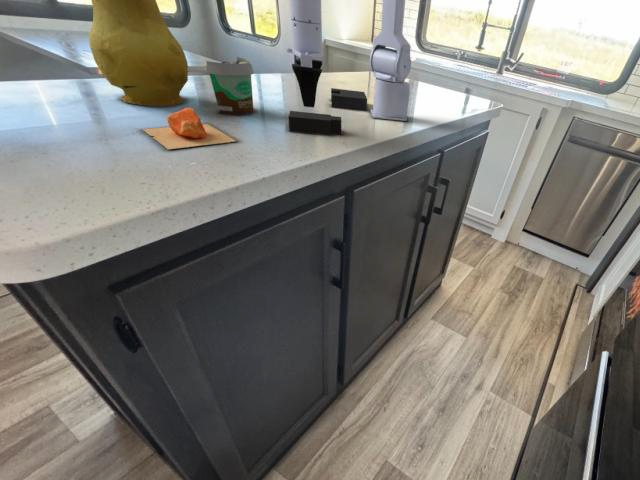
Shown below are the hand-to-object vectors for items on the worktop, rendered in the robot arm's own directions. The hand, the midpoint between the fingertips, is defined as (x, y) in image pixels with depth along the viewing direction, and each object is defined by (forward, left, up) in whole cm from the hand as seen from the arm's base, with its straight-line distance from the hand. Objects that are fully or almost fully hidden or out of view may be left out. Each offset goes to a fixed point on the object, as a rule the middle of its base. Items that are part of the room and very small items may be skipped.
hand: (309, 102), depth 72 cm
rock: (+22, +11, -6) cm, 25 cm away
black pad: (-1, 0, -6) cm, 6 cm away
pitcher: (+36, -14, -6) cm, 39 cm away
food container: (+16, -10, -6) cm, 20 cm away
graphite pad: (-10, -29, -6) cm, 31 cm away
